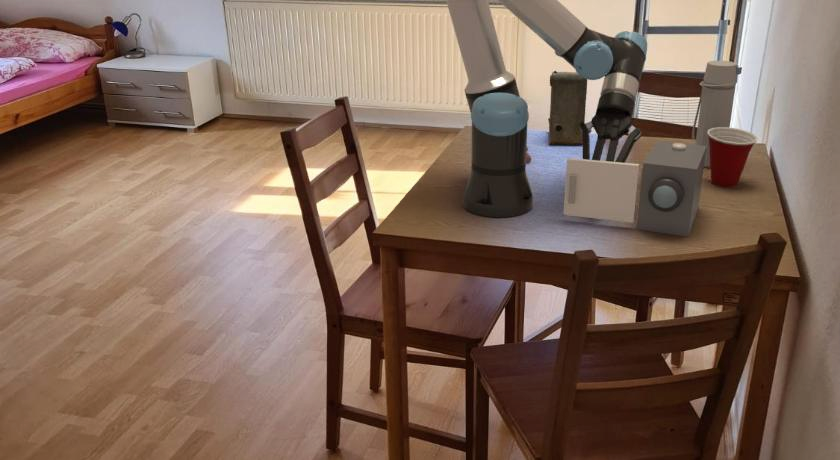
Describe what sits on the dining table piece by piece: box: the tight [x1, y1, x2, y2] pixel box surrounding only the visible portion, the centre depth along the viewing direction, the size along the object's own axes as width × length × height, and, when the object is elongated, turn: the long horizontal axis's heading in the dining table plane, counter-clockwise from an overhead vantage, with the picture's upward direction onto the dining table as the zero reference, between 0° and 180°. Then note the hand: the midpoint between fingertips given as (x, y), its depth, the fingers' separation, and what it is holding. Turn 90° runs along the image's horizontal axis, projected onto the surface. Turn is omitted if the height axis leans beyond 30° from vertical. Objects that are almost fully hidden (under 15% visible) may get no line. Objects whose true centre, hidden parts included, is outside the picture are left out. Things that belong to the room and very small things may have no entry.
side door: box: [563, 157, 640, 223], centre depth 156 cm, size 14×2×12 cm, turn 71°
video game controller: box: [526, 145, 532, 164], centre depth 200 cm, size 10×5×7 cm, turn 179°
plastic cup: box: [707, 126, 758, 188], centre depth 178 cm, size 11×11×12 cm
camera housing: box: [636, 140, 707, 238], centre depth 158 cm, size 18×10×15 cm, turn 155°
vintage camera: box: [547, 70, 588, 146], centre depth 212 cm, size 10×16×20 cm, turn 174°
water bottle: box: [691, 60, 738, 169], centre depth 189 cm, size 9×8×25 cm
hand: (593, 198), depth 160 cm, fingers closed
